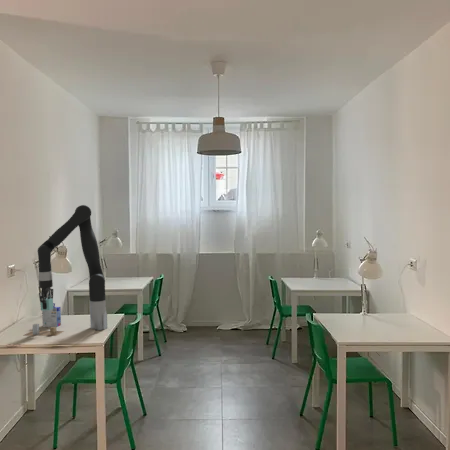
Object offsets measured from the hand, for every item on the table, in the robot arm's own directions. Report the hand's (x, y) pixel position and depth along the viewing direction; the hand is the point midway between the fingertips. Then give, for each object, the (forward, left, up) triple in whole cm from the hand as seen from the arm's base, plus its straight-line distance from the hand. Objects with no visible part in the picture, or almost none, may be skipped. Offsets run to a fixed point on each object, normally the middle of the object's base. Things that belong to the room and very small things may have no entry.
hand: (47, 308), depth 300 cm
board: (+1, +2, -15) cm, 15 cm away
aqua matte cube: (0, 0, -1) cm, 1 cm away
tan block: (-6, +5, -14) cm, 16 cm away
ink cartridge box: (+5, -16, -15) cm, 23 cm away
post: (+4, +6, -14) cm, 16 cm away
